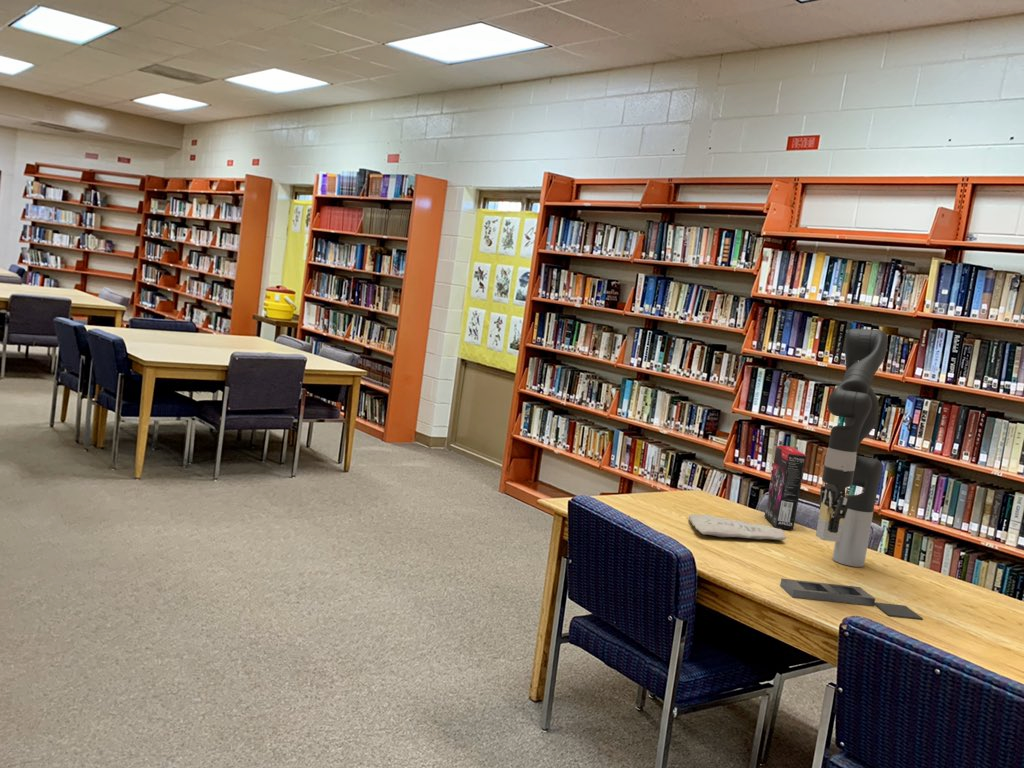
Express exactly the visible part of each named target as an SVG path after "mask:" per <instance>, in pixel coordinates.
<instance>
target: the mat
mask: <svg viewBox="0 0 1024 768" xmlns="http://www.w3.org/2000/svg"><path fill="white" fill-rule="evenodd" d="M874 606H875V607H876V608H877V609H879V610H880V611H881V612H882V613H884V614H885V615H887V616H888V617H893V618H903V619H912V620H919V621H923V620H924V618H923V617H922V616H921V615H919V614H918V613H916V612H915V611H914V610H912V609H911V608H910V607H908V606H907V605H902V604H895V603H893V604H892V603H887V602H886V603H884V602H876V601H875V603H874Z"/></svg>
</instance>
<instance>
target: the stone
mask: <svg viewBox="0 0 1024 768" xmlns="http://www.w3.org/2000/svg"><path fill="white" fill-rule="evenodd" d="M688 521H689V522H690V523H691V525H692V526H693V527H694V528H695V530H696V531H699V533H700V534H702V535H708V536H713V537H716V538H723V539H724V538H741V539H750V540H773V541H774V540H776V541H785V540H787V537H786V533H785V531H784V529H782V528H777V527H774V526H768V525H762V524H755V523H749V522H746V521H743V520H737V519H736V520H735V519H729V518H725V517H721V516H720V517H719V516H713V515H710V514H693V513H692V514H689V516H688Z"/></svg>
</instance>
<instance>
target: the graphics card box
mask: <svg viewBox="0 0 1024 768" xmlns="http://www.w3.org/2000/svg"><path fill="white" fill-rule="evenodd" d="M806 458H807V454H805V453H803V452H802V451H800V450H798V449H797V448H795V447H794V446H788V445H777V446H776V447H775V454H774V460H773V463H772V471H771V476H770V482H769V488H768V493H767V498H766V499H767V500H766V505H765V511H764V518H766V519H767V520H768V521H769V522H770V523H771V525H772V526H773V527H774V528H777V529H782V530H784V529H785V530H790V531H794V528H795V522H796V517H797V516H796V515H797V512H798V510H797V509H798V506H799V505H798V504H799V499H800V493H801V487H802V482H803V476H804V471H805V463H806Z"/></svg>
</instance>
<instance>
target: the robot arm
mask: <svg viewBox="0 0 1024 768" xmlns="http://www.w3.org/2000/svg"><path fill="white" fill-rule="evenodd" d="M887 351H888V336H887V333H886V332H885V331H883V330H881V329H869V328H868V329H867V328H863V329H862V328H851V329H849V330H848V331H847V333H846V335H845V340H844V357H845V358H844V359H845V373H844V376H843V378H842V382H841V383H840V384H839V385H838V386H837V387H836V388H835V389H833V391H832V392H831V393H830V395H829V397H828V400H827V409H828V411H829V413H830V414H831V415H833V416H835V417H840V418H844V425H834V426H832V428H831V429H830V434H829V441H828V446H827V450H826V453H825V458H824V464H823V471H822V475H821V476H822V478H821V481H822V482H823V483H824V484H826V485H825V486H824V485H821V486H820V492H819V493H820V494H819V496H820V497H819V508H820V507H821V502H822V503H827V504H829V507H830V509H831V518H830V524H829V531H830V532H833V533H837V532H838V527H839V521H840V519H841V518H843V522H842V528H841V534H840V540H839V542H835V541H834V548H833V554H832V560H833V561H834V562H836V563H839V564H842V565H845V566H847V567H848V566H849V567H854V568H855V567H857V568H861V567H864V566H865V563H866V557H867V553H868V552H867V551H868V546H869V540H870V535H871V529H872V522H873V516H874V510H875V505H876V501H877V496H878V491H879V485H880V482H881V478H882V471H883V465H882V461H880V460H878V459H876V458H873V457H872V458H871V457H866V456H861V455H858V452H857V451H858V448H859V446H860V444H861V443H862V442H863V440H864V439H866V437H867V436H868V435H869V434H870V433H871V432H872V431H873V429H875V427H876V425H877V423H878V420H879V400H878V396H877V395H876V393H875V391H874V390H873V388H872V386H871V384H872V380H873V378H874V376H875V374H876V372H878V370H879V368H880V367H881V365H882V364H883V361H884V359H885V358H886V355H887ZM852 486H856V487H861V488H864V490H863V492H861V493H858V494H854V495H853V494H850V495H846V494H847V492H846V488H850V487H852ZM834 505H837V506H834ZM835 509H836V510H835ZM842 511H843V512H842Z"/></svg>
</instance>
